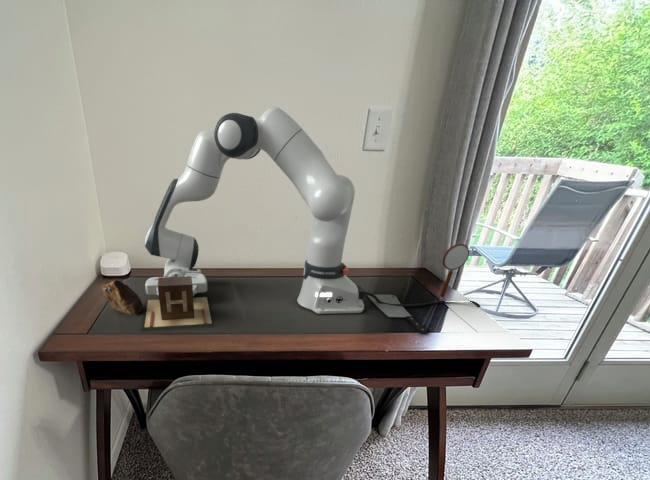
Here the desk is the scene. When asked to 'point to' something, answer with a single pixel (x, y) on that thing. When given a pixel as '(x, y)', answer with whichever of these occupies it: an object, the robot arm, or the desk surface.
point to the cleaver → (396, 310)
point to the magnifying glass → (454, 261)
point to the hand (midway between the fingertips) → (176, 294)
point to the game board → (199, 318)
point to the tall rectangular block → (176, 297)
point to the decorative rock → (122, 297)
